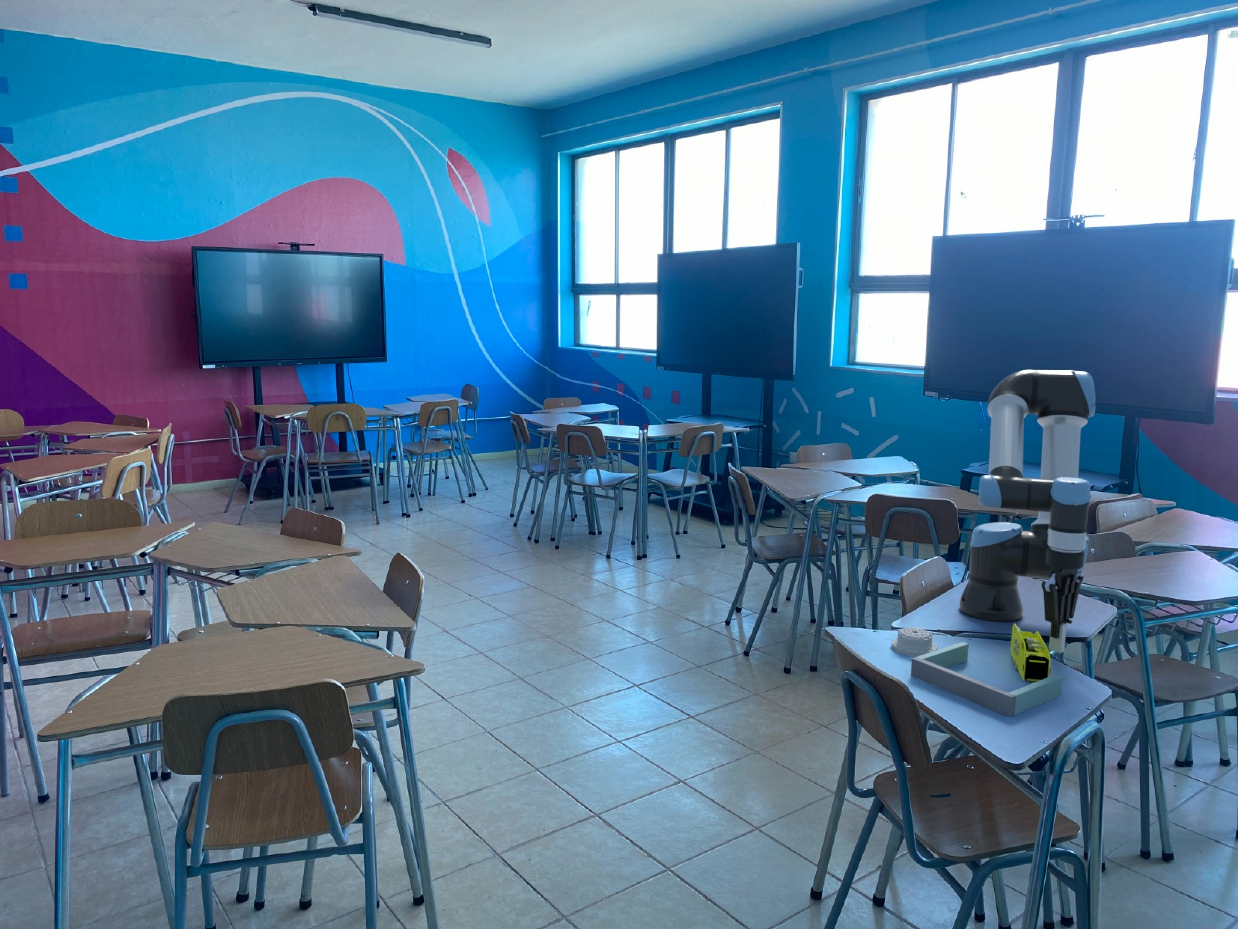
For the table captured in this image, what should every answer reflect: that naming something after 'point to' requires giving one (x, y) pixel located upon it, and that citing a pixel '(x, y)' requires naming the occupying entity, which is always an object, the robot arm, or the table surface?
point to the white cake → (913, 642)
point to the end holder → (1009, 704)
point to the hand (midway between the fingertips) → (1056, 650)
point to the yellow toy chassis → (1030, 655)
